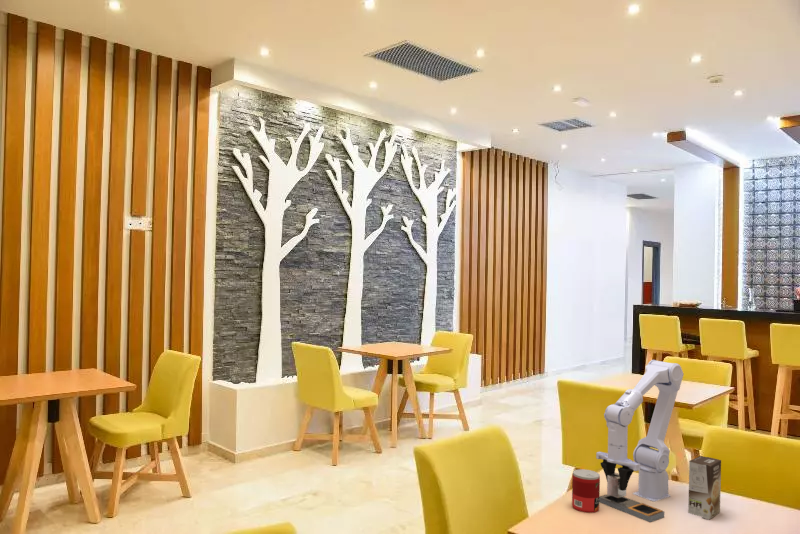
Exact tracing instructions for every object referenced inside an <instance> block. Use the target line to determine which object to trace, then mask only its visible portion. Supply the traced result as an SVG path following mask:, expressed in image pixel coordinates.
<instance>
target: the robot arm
mask: <svg viewBox="0 0 800 534" xmlns="http://www.w3.org/2000/svg"><path fill="white" fill-rule="evenodd" d="M644 370H645V371H644V374H643V375H642V377H641V378H640V379H639V380H638V382H637V383H636V385H635V386H634V387H633V388H627V389H626V390H625V392H624V393H623V394H622V395H621V396H620V397H619V398H618V400H616V402H614V403H612V404H610V405H608V406H607V407H606V408H605V411H604V413H603V416H604V417H603V418H604V420H605V421H606V422H605V423H606V427H607V428H608V430H607V432H608V433H607V452H603V451H597V452H596V454H595V455H596V457H595V458H596V459H597V460H602V462H600V466H601V469H602V470H603V473H604V475H605V479H606V480H607V475H609V474H612V473H616V467H617V465H619V466H621V467H618V468H617V471H618V472H617V473H618V474H619V476H620V490H622V491H623V490H626V491H627V489H628V488H627V487H628V485H629V481H630V478H631V477H632V475H633V473H634V472H638V480H637V481H638V483H637V484H638V485H637V486H638V489H637V491H634V492H632V495H633V496H637V497H639V498H642V499H646V500H648V501H650V502H658V501H660V500H661V501H662V500H664V499H667V498H670V497H672V496H671V494H669V474H668V471H667V468H668V466H669V463H670V453H671V452H670V451H671V450H670V449H669V447H668V446H667V445H666V443H665V438H666V435H667V431H668V428H669V424H670V421H671V419H672V414H673V409H674V406H675V402H676V399H677V395H678V391H680V389H681V386H682V385H681V384H682V381H683V377H684V371H683V369H682V366H681V365H680V364H679V363H675V362H667V361H666V362H665V361H662V360H661V361H660V360H656V359H651V360H650V361H648V363H647V364H646V365H645V369H644ZM654 386H655V387H656V388H657V389H658V392H659V393H658V395H657V398H656V402H655V406H654V410H653V413H652V417H651V420H650V424H649V426H648V431H647V433H646V436H645V437H642V438H640V439H638V442H637V445H636V447H635V448H634V450H633V453H632V456H633V457H632V458H633V460H632V459H630V458H628V432H629V431H628V428H629V427H628V426H629V424H631V423H632V421H633V416H634V415H635V412H636V410H637V409H638V408H639V407H640V406H641V404H642V403H643V402H644V398H643V396H645V394H647V393H648V392H649V391H650V390H651V389H653V387H654Z"/></svg>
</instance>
